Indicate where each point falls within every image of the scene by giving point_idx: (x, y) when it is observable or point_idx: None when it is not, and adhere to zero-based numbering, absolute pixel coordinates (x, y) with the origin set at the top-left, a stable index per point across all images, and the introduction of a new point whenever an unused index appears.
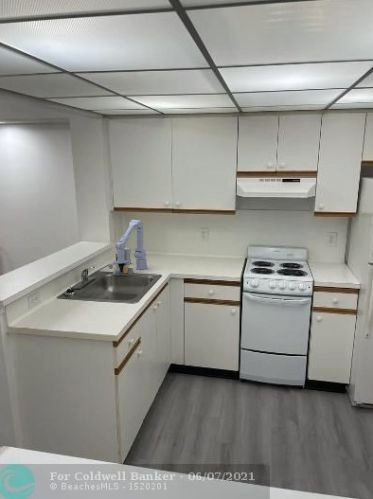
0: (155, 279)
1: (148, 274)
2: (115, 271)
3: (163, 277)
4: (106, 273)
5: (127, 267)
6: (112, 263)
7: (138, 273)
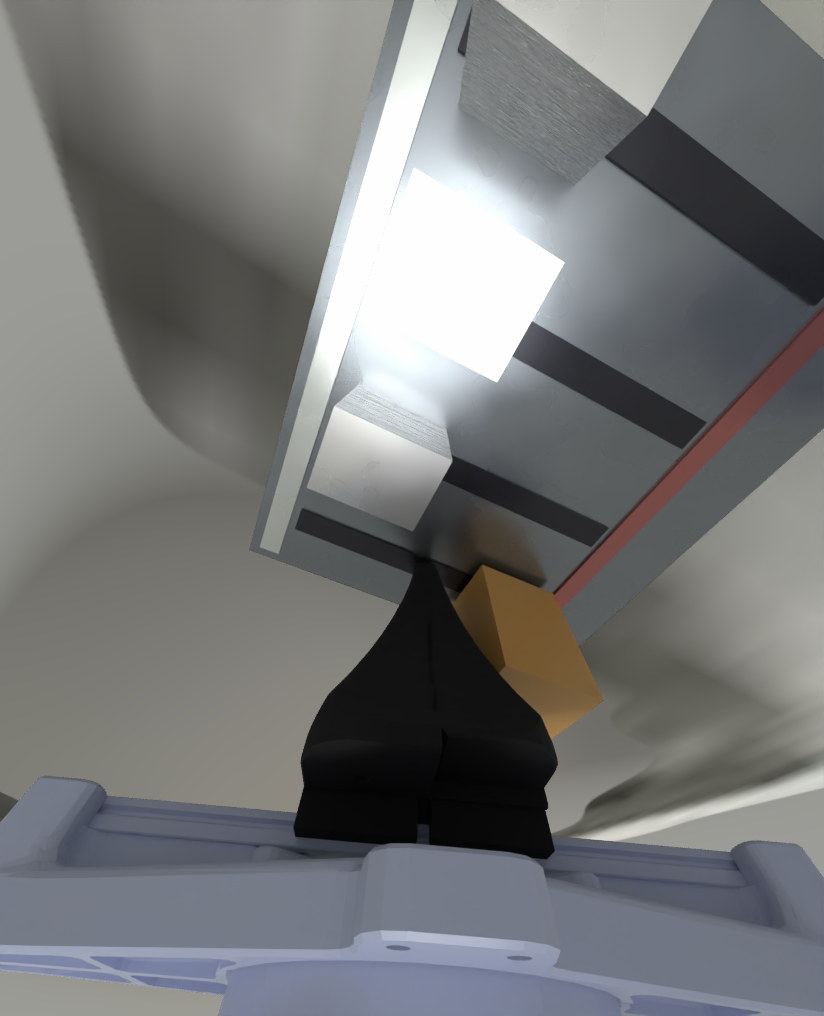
0: (642, 805)
1: (748, 700)
2: (348, 383)
3: (752, 802)
4: (132, 307)
5: (561, 723)
6: (8, 861)
7: (692, 617)
